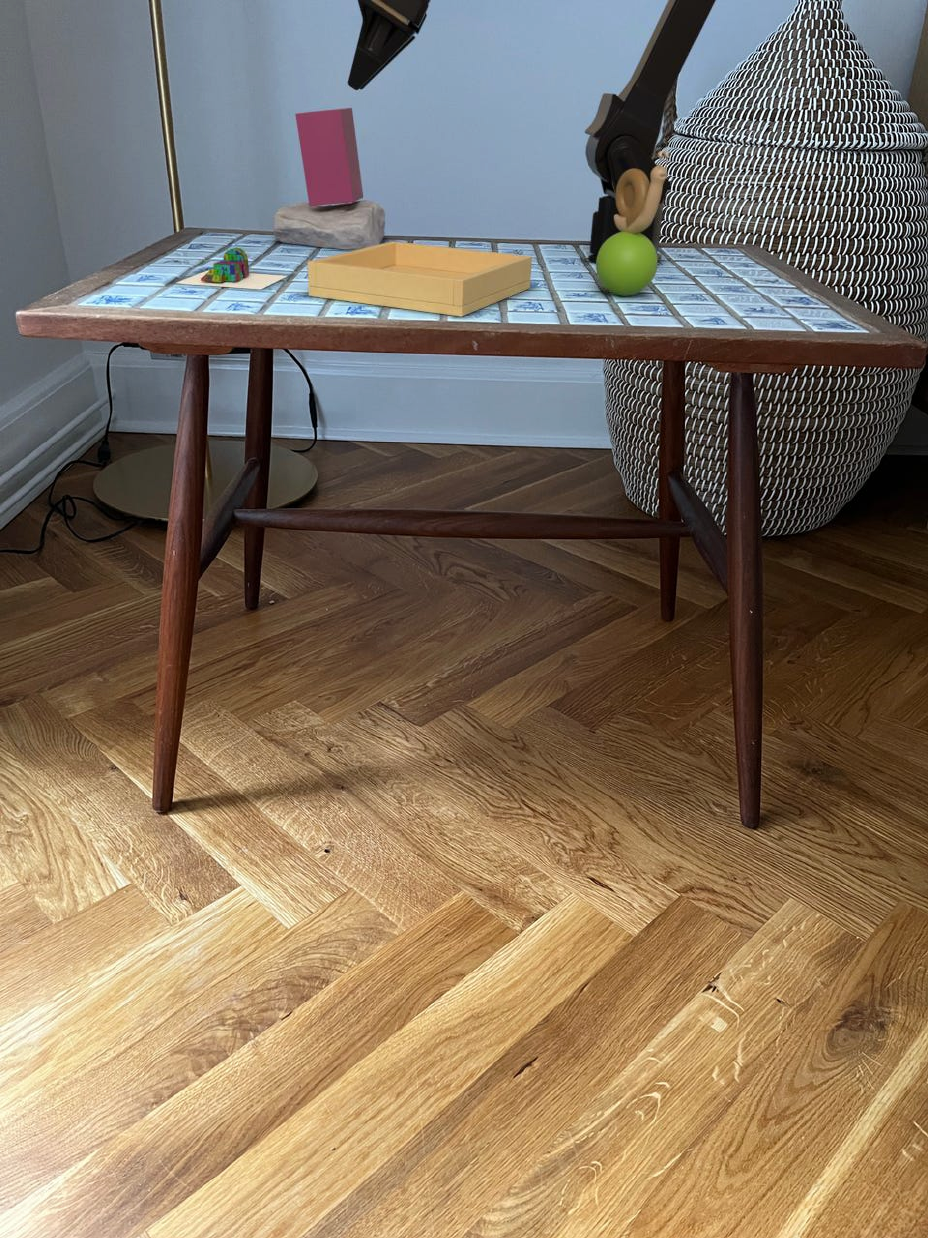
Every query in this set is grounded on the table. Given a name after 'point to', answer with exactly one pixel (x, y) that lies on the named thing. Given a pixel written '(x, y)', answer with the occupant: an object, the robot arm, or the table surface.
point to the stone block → (331, 225)
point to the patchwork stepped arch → (233, 273)
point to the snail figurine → (632, 233)
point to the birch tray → (420, 277)
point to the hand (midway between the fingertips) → (354, 87)
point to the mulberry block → (329, 156)
